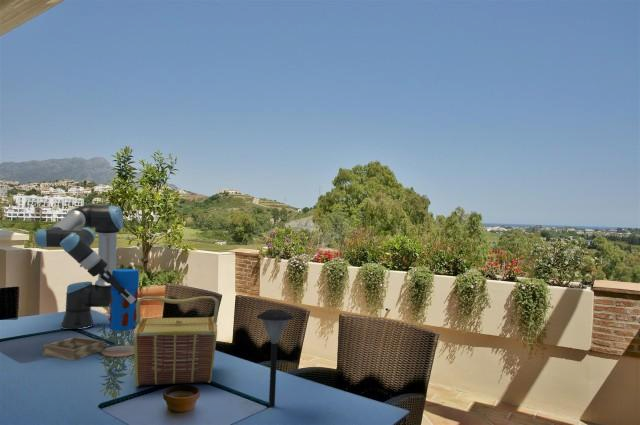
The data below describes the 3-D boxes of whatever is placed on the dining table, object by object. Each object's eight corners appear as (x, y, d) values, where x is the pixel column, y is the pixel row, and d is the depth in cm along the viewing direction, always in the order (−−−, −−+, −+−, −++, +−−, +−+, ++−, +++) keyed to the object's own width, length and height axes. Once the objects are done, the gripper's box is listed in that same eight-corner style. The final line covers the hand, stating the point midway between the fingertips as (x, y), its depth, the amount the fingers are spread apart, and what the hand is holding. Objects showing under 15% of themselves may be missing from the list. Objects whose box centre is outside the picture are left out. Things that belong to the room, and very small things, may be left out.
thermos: (140, 326, 206) (143, 269, 207) (128, 331, 195) (131, 271, 196) (117, 324, 207) (120, 268, 208) (103, 330, 196) (107, 270, 197)
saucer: (120, 345, 211) (120, 343, 211) (149, 349, 206) (149, 348, 206) (92, 353, 196) (92, 352, 196) (123, 358, 191) (123, 357, 191)
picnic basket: (127, 393, 154) (131, 302, 154) (136, 369, 178) (140, 291, 179) (217, 388, 161) (221, 302, 162) (214, 366, 186) (217, 291, 187)
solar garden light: (291, 399, 154) (295, 308, 155) (290, 414, 142) (294, 315, 142) (254, 398, 153) (258, 307, 154) (250, 413, 141) (254, 314, 142)
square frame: (75, 345, 207) (75, 336, 207) (104, 350, 202) (104, 341, 202) (42, 355, 192) (43, 345, 192) (73, 360, 186) (73, 350, 186)
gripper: (84, 267, 204) (120, 301, 211) (89, 273, 184) (128, 310, 191) (98, 255, 207) (133, 289, 214) (104, 260, 187) (143, 297, 194)
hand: (131, 299), depth 203 cm, fingers closed on thermos, 11 cm apart
